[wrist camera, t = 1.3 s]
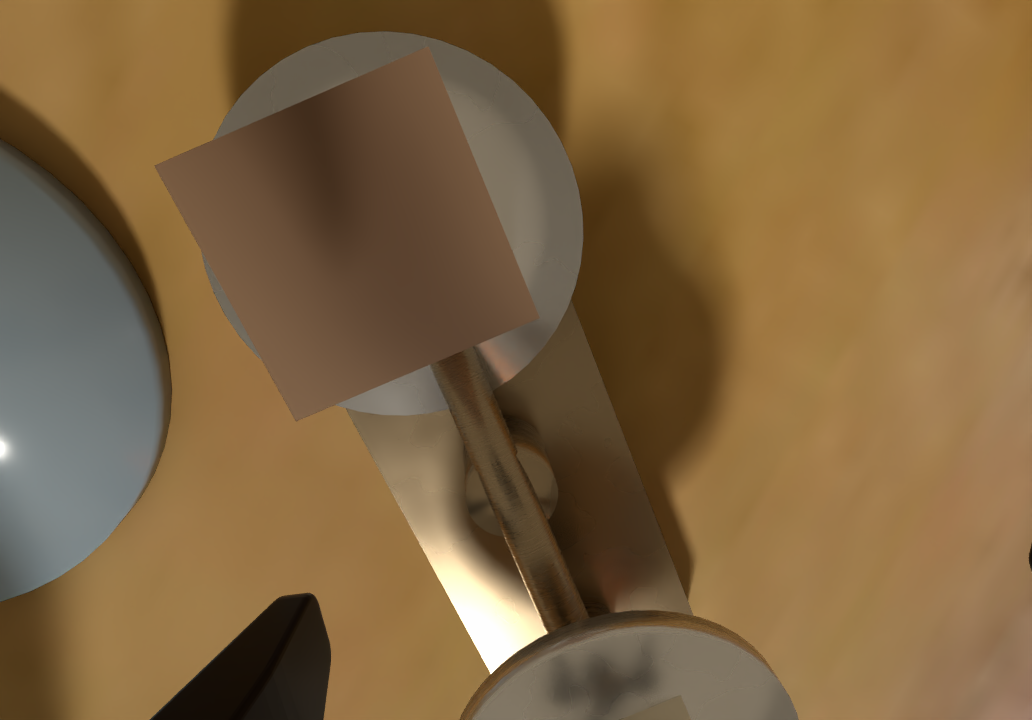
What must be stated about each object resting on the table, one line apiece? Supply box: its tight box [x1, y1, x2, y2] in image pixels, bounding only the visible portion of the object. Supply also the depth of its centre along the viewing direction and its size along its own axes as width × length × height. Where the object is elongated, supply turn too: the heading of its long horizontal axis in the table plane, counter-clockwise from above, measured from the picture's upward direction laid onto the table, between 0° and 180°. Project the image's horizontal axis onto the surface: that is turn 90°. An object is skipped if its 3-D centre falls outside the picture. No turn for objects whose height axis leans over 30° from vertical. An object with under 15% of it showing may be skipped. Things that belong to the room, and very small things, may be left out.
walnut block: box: [155, 47, 540, 421], centre depth 13 cm, size 4×4×5 cm
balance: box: [202, 31, 798, 720], centre depth 17 cm, size 23×9×8 cm, turn 22°
